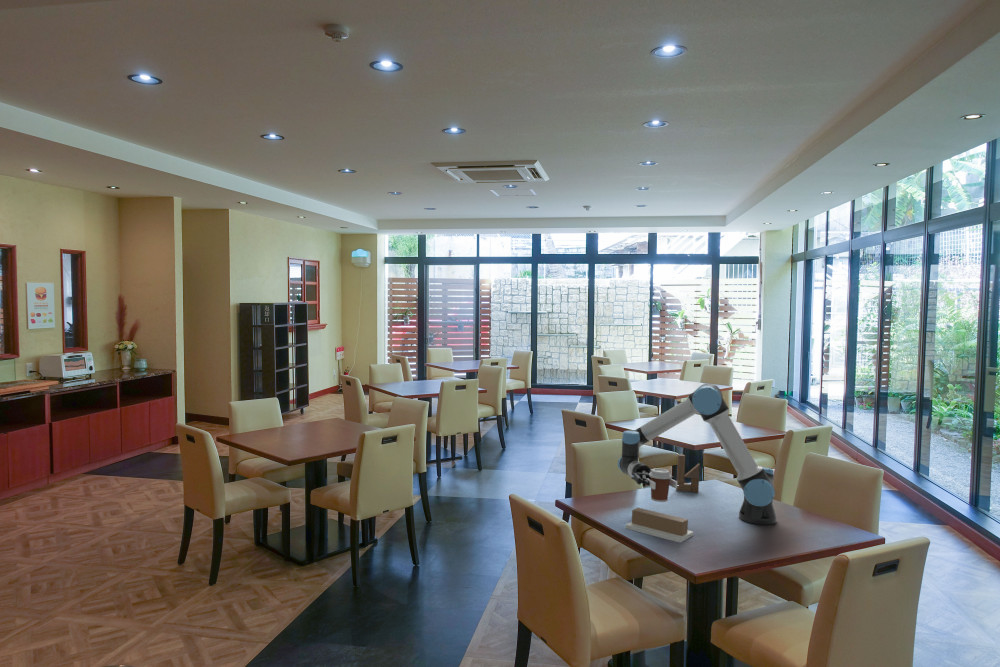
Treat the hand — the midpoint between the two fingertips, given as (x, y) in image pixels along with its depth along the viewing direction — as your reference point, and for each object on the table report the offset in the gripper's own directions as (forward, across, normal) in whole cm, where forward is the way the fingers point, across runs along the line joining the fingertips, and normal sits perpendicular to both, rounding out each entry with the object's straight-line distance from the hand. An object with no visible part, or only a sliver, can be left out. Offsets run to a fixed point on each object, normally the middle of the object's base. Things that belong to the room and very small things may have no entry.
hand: (665, 485), depth 259 cm
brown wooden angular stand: (-58, -45, -20) cm, 76 cm away
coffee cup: (-5, 0, -7) cm, 9 cm away
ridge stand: (-4, 0, -20) cm, 20 cm away
